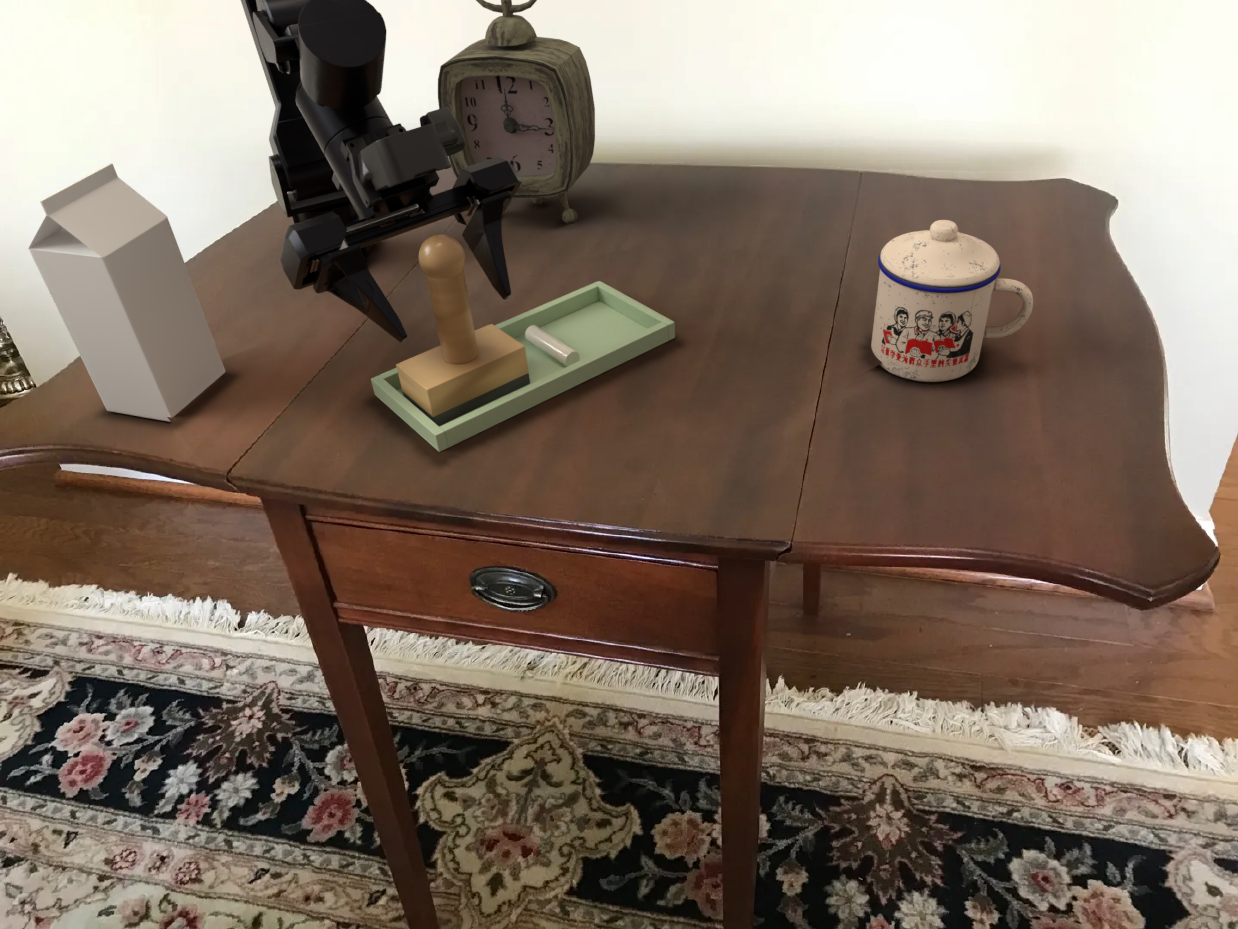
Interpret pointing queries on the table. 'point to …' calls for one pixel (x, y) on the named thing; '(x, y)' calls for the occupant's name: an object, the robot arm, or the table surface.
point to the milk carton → (125, 296)
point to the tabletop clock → (522, 105)
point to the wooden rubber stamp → (458, 345)
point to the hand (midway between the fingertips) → (457, 317)
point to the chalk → (551, 345)
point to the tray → (547, 357)
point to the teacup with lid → (938, 303)
